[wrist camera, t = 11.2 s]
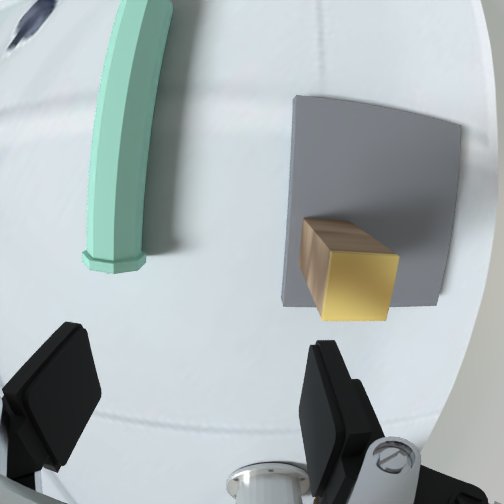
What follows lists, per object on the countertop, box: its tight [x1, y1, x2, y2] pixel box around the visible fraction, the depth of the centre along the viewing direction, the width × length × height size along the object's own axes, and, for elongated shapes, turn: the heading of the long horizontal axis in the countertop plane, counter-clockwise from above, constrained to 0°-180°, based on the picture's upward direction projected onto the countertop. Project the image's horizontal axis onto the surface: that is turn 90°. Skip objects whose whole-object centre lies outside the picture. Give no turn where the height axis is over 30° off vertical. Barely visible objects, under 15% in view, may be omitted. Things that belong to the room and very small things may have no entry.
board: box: [281, 95, 461, 307], centre depth 27 cm, size 18×16×2 cm
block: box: [299, 218, 399, 321], centre depth 22 cm, size 4×4×10 cm
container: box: [82, 0, 174, 274], centre depth 23 cm, size 6×6×25 cm
